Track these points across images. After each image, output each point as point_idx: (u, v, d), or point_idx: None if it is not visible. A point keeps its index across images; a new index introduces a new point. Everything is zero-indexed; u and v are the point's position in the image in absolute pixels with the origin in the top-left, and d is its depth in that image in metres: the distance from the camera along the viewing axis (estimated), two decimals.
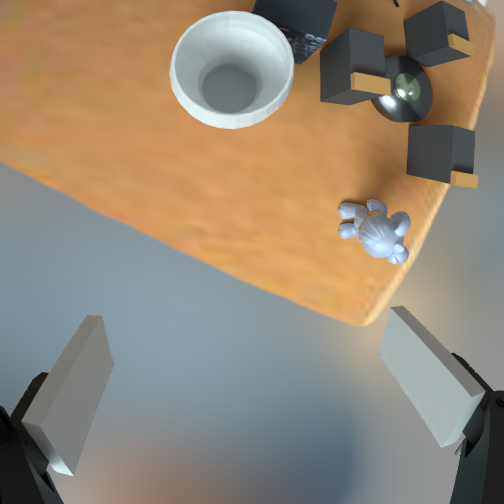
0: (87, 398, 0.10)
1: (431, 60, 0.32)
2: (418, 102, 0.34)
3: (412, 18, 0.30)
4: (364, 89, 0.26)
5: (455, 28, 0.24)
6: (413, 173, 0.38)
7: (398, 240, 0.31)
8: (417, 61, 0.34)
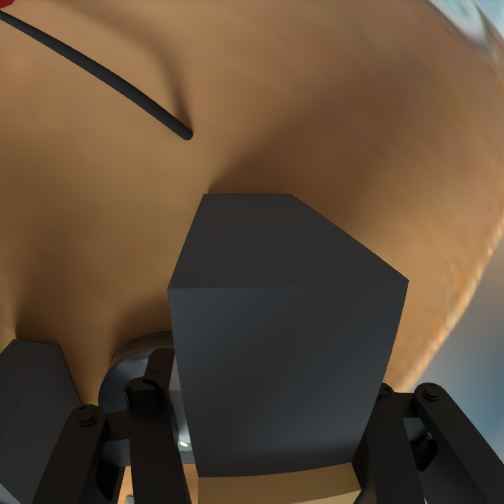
0: None
1: None
2: None
3: None
4: None
5: (271, 437, 0.06)
6: None
7: None
8: None
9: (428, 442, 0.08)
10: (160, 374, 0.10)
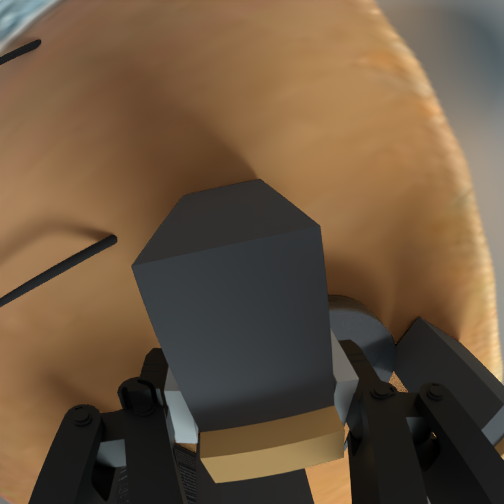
0: None
1: None
2: (369, 361, 0.18)
3: None
4: None
5: (246, 382, 0.07)
6: None
7: None
8: None
9: (432, 442, 0.08)
10: (156, 374, 0.10)
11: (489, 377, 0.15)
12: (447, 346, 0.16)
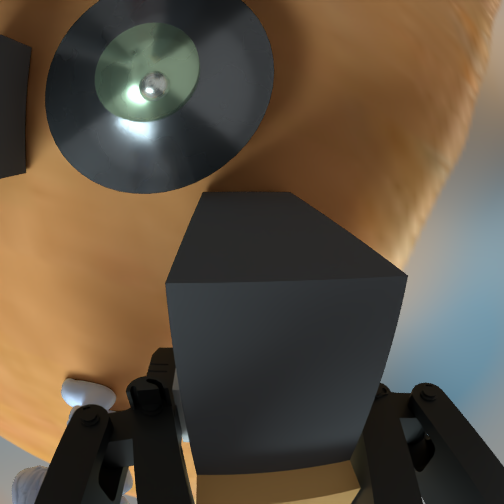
0: None
1: None
2: (206, 112, 0.11)
3: None
4: None
5: None
6: None
7: None
8: None
9: (426, 442, 0.08)
10: (163, 374, 0.10)
11: None
12: (311, 207, 0.11)
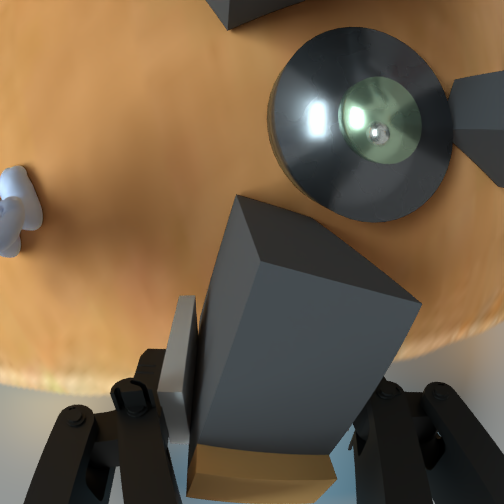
0: (192, 370, 0.12)
1: (480, 102, 0.12)
2: (369, 180, 0.13)
3: None
4: None
5: None
6: (199, 330, 0.15)
7: None
8: (459, 92, 0.13)
9: (436, 441, 0.08)
10: (150, 375, 0.10)
11: None
12: (335, 236, 0.12)
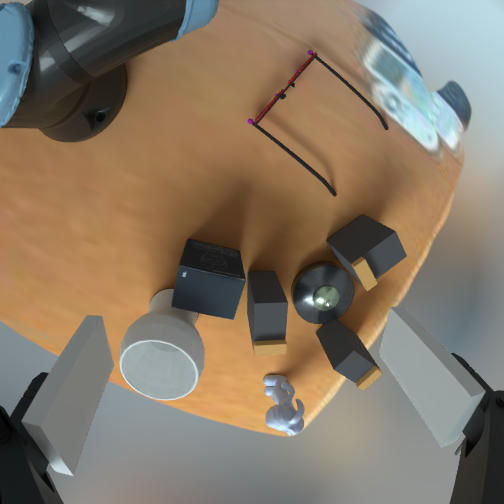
0: (87, 399, 0.10)
1: (339, 258, 0.43)
2: (337, 305, 0.47)
3: (367, 219, 0.43)
4: None
5: (378, 258, 0.37)
6: None
7: (291, 426, 0.44)
8: (331, 248, 0.45)
9: None
10: None
11: (359, 347, 0.45)
12: (339, 328, 0.47)
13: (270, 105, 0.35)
